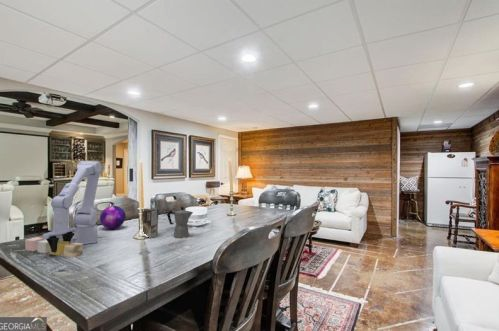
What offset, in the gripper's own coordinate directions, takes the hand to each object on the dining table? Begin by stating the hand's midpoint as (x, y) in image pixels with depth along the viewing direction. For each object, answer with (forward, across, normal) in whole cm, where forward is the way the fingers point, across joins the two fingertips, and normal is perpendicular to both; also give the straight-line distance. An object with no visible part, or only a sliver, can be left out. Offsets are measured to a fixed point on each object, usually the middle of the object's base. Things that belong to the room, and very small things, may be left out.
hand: (59, 250), depth 118 cm
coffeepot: (+2, -46, +36) cm, 59 cm away
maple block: (+2, 0, +8) cm, 8 cm away
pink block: (+2, 0, -16) cm, 16 cm away
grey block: (+2, 0, -8) cm, 8 cm away
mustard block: (+1, 0, 0) cm, 1 cm away
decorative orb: (+2, -46, -14) cm, 48 cm away
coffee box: (+2, -39, +19) cm, 44 cm away
